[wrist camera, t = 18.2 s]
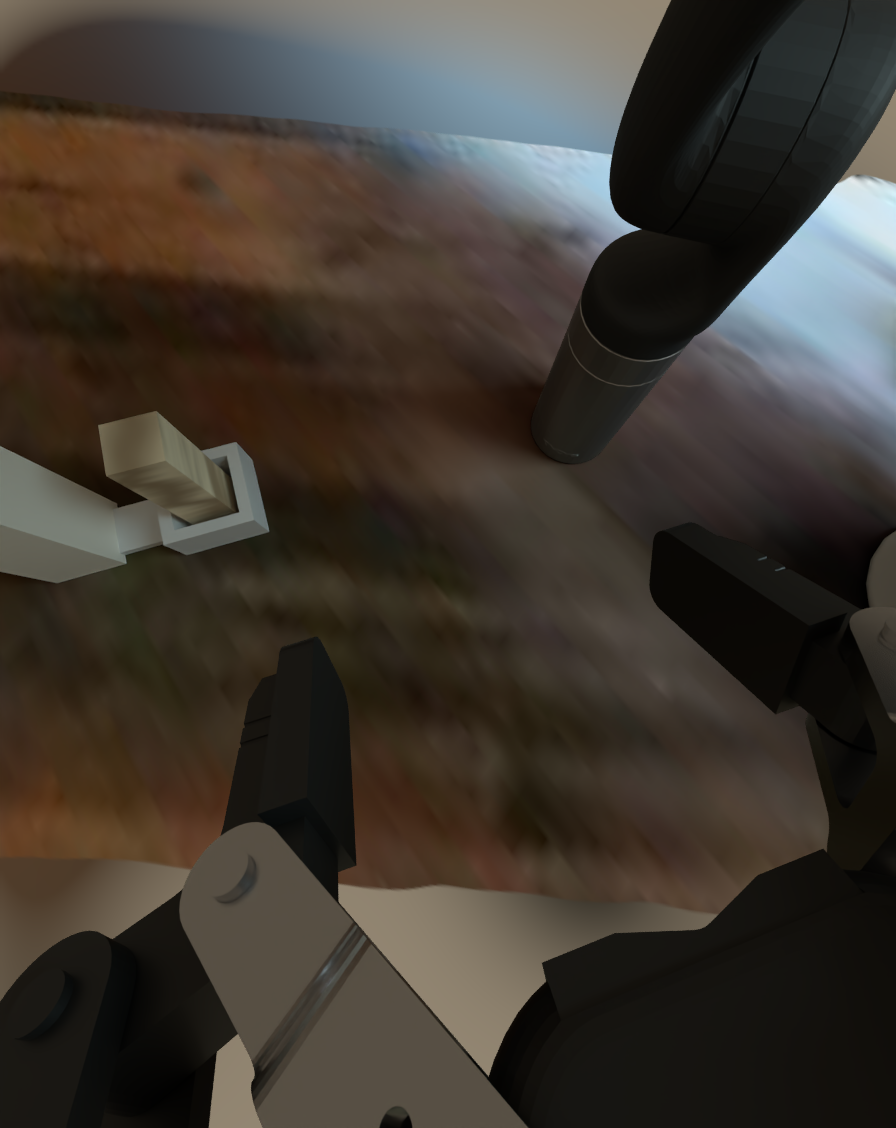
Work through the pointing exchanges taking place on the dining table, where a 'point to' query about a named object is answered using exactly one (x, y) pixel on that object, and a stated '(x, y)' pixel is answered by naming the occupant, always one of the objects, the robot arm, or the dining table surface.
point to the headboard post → (107, 520)
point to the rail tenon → (166, 468)
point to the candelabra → (883, 575)
